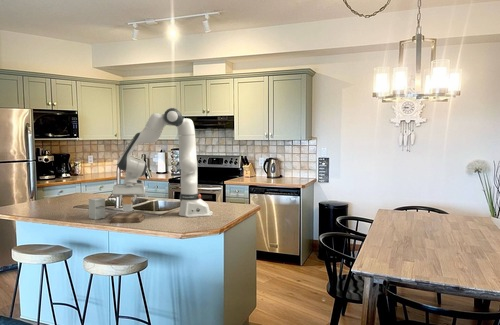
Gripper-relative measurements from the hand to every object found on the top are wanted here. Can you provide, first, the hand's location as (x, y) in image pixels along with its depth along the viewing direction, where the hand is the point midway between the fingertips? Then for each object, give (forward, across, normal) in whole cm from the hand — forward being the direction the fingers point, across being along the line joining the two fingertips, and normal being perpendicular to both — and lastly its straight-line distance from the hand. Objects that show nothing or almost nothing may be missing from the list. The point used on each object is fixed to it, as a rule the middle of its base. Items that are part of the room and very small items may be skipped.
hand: (127, 201), depth 232 cm
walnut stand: (+8, 0, +9) cm, 12 cm away
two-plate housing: (+4, 0, +5) cm, 6 cm away
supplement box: (+3, -21, +14) cm, 25 cm away
